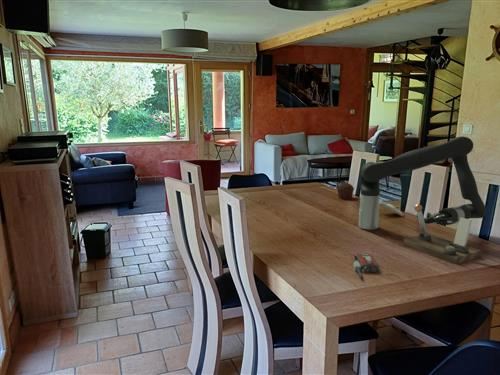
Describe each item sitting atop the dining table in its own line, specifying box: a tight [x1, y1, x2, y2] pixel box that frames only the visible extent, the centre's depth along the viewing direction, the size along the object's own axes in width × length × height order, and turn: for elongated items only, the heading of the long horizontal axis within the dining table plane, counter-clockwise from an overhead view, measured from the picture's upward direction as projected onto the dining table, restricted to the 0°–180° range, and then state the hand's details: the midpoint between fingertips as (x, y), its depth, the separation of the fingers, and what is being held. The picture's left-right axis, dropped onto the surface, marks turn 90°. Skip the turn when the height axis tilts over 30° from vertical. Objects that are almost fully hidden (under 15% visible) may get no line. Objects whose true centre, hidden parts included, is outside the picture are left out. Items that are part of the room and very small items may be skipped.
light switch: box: [379, 199, 404, 217], centre depth 225 cm, size 8×6×14 cm
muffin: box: [336, 182, 355, 200], centre depth 266 cm, size 12×11×10 cm
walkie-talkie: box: [353, 253, 379, 279], centre depth 149 cm, size 9×4×20 cm
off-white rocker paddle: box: [453, 217, 473, 249], centre depth 160 cm, size 1×4×12 cm, turn 28°
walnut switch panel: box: [403, 232, 482, 265], centre depth 167 cm, size 16×25×5 cm, turn 28°
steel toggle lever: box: [413, 203, 429, 237], centre depth 171 cm, size 3×3×17 cm
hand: (425, 221), depth 172 cm, fingers closed
